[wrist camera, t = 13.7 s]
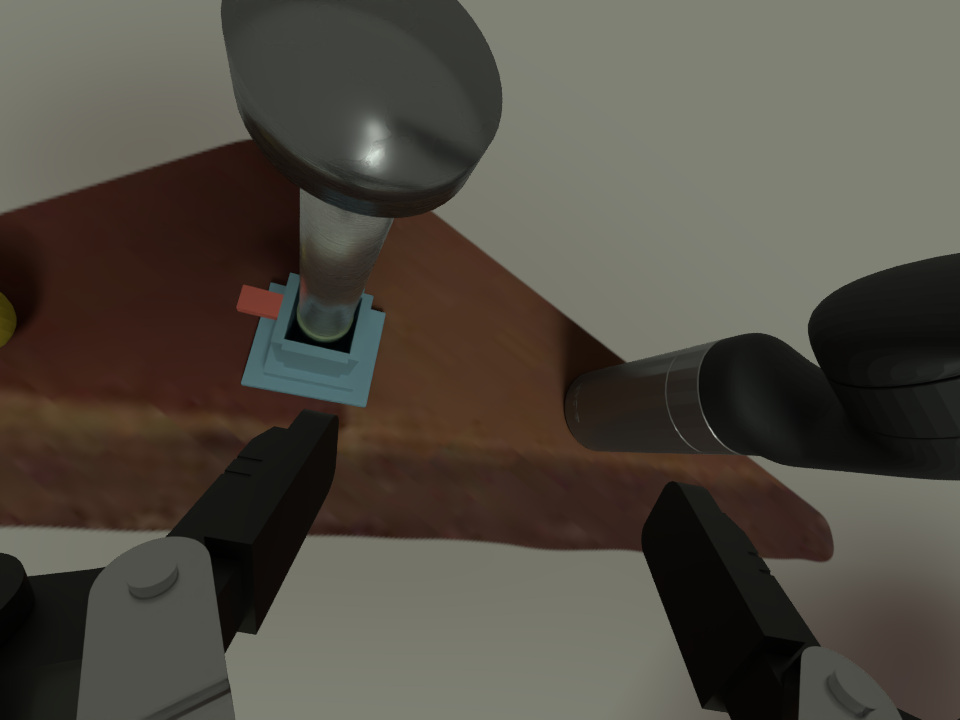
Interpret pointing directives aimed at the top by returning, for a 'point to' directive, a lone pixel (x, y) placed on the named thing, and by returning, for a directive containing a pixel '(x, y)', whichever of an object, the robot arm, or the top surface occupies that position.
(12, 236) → the top surface
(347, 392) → the stand base
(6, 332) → the lemon
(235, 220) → the top surface
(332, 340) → the column
